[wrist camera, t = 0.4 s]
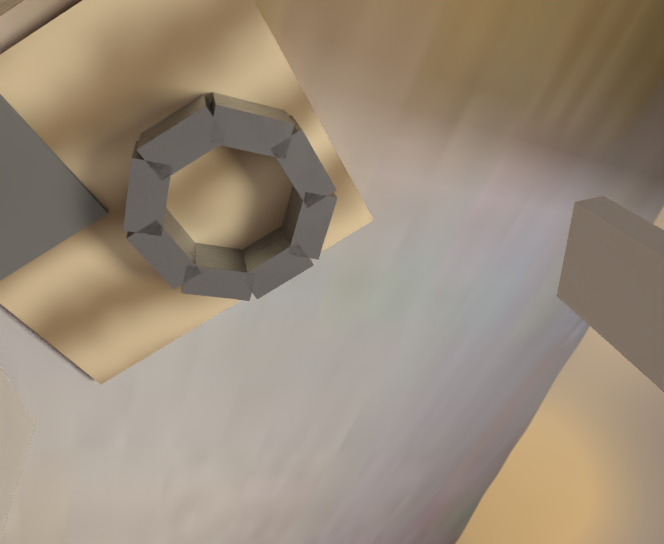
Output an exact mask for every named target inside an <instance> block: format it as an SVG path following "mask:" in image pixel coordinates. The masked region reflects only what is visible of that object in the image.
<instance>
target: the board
mask: <svg viewBox="0 0 664 544" xmlns="http://www.w3.org/2000/svg"><path fill="white" fill-rule="evenodd" d="M213 92H215V93H219V94H223V95H227V96H230V97H234V98H238V99H242V100H246V101H250V102H254V103H258V104H262V105H266V106H270V107H274V108H278V109H282V110H285V111H286V112H287V114H288V115H289V116H293V118H294V119H295V120H296V122H297V123H298V124H299V126H300V127H301V129H302V130H303V132H304V134H305V135H306V137H307V139H308V141H309V142H310V144H311V146H312V148H313V149H314V151H315V153H316V155H317V156H318V158H319V160H320V162H321V163H322V165H323V167H324V169H325V170H326V172H327V174H328V175H329V177H330V179H331V181H332V182H333V184H334V186H335V188H336V189H337V190H336V191H335V192H334V193H335V195H336V196H337V198H338V199H337V202H336V205H335V208H334V211H333V214H332V218H331V221H330V224H329V227H328V230H327V234H326V237H325V240H324V243H323V246H322V250H321V251H323V250H325V249H326V248H328V247H329V246H331V245H333V244H334V243H336V242H338V241H339V240H341V239H343V238H344V237H346V236H348V235H349V234H351V233H353V232H354V231H356V230H358V229H359V228H361V227H363V226H364V225H366V224H368V223H369V222H371V221H373V218H372V216H371V215H370V213H369V211H368V209H367V207H366V205H365V204H364V202H363V200H362V198H361V196H360V194H359V193H358V191H357V189H356V187H355V185H354V183H353V182H352V180H351V178H350V176H349V174H348V172H347V171H346V169H345V167H344V165H343V163H342V161H341V160H340V158H339V156H338V154H337V152H336V150H335V149H334V147H333V145H332V143H331V141H330V139H329V138H328V136H327V134H326V132H325V130H324V128H323V126H322V125H321V123H320V121H319V119H318V117H317V115H316V114H315V112H314V110H313V108H312V106H311V104H310V103H309V101H308V99H307V97H306V95H305V93H304V92H303V90H302V88H301V86H300V84H299V82H298V81H297V79H296V77H295V75H294V73H293V71H292V70H291V68H290V66H289V64H288V62H287V60H286V59H285V57H284V55H283V53H282V51H281V49H280V48H279V46H278V44H277V42H276V40H275V38H274V37H273V35H272V33H271V31H270V29H269V27H268V26H267V24H266V22H265V20H264V18H263V16H262V15H261V13H260V11H259V9H258V7H257V5H256V4H255V2H254V0H82V1H81V2H79V3H78V4H76V5H75V6H73V7H72V8H70V9H69V10H67V11H65V12H64V13H62V14H61V15H59V16H58V17H56V18H55V19H53V20H52V21H50V22H49V23H47V24H46V25H44V26H43V27H41V28H40V29H38V30H37V31H35V32H34V33H32V34H31V35H29V36H28V37H26V38H25V39H23V40H22V41H20V42H19V43H17V44H16V45H14V46H13V47H11V48H9V49H8V50H6V51H5V52H3V53H2V54H0V94H1V95H2V96H3V97H4V98H5V99H6V101H7V102H8V103H9V104H10V105H11V106H12V107H13V108H14V109H15V110H16V111H17V112H18V114H19V115H20V116H21V117H22V118H23V119H24V120H25V121H26V122H27V123H28V124H29V125H30V127H31V128H32V129H33V130H34V131H35V132H36V133H37V134H38V135H39V136H40V137H41V138H42V140H43V141H44V142H45V143H46V144H47V145H48V146H49V147H50V148H51V149H52V150H53V152H54V153H55V154H56V155H57V156H58V157H59V158H60V159H61V160H62V161H63V162H64V163H65V165H66V166H67V167H68V168H69V169H70V170H71V171H72V172H73V173H74V174H75V175H76V176H77V178H78V179H79V180H80V181H81V182H82V183H83V184H84V185H85V186H86V187H87V188H88V189H89V191H90V192H91V193H92V194H93V195H94V196H95V197H96V198H97V199H98V200H99V201H100V202H101V204H102V205H103V206H104V207H105V208H106V209H107V210H108V214H106V215H104V216H103V217H101V218H100V219H98V220H96V221H95V222H93V223H92V224H90V225H88V226H87V227H85V228H84V229H82V230H80V231H79V232H77V233H76V234H74V235H73V236H71V237H69V238H68V239H66V240H65V241H63V242H61V243H60V244H58V245H57V246H55V247H53V248H52V249H50V250H49V251H47V252H45V253H44V254H42V255H41V256H39V257H37V258H36V259H34V260H33V261H31V262H29V263H28V264H26V265H25V266H23V267H22V268H20V269H18V270H17V271H15V272H14V273H12V274H10V275H9V276H7V277H6V278H4V279H2V280H1V281H0V304H1V305H3V306H4V307H5V308H6V309H7V310H9V311H10V312H11V313H12V314H14V315H15V316H16V317H17V318H19V319H20V320H21V321H22V322H24V323H25V324H26V325H27V326H29V327H30V328H31V329H32V330H34V331H35V332H36V333H37V334H39V335H40V336H41V337H42V338H44V339H45V340H46V341H47V342H49V343H50V344H51V345H52V346H54V347H55V348H56V349H57V350H59V351H60V352H61V353H62V354H64V355H65V356H66V357H67V358H69V359H70V360H71V361H72V362H74V363H75V364H76V365H77V366H78V367H80V368H81V369H82V370H83V371H85V372H86V373H87V374H88V375H90V376H91V377H92V378H93V379H95V380H96V381H97V382H98V383H100V384H102V383H104V382H106V381H107V380H109V379H111V378H112V377H114V376H116V375H117V374H119V373H121V372H122V371H124V370H126V369H127V368H129V367H131V366H132V365H134V364H136V363H137V362H139V361H141V360H142V359H144V358H146V357H147V356H149V355H150V354H152V353H154V352H155V351H157V350H159V349H160V348H162V347H164V346H165V345H167V344H169V343H170V342H172V341H174V340H175V339H177V338H179V337H180V336H182V335H184V334H185V333H187V332H189V331H190V330H192V329H194V328H195V327H197V326H199V325H200V324H202V323H204V322H205V321H207V320H209V319H210V318H212V317H213V316H215V315H217V314H218V313H220V312H222V311H223V310H225V309H227V308H228V307H230V306H232V305H233V304H235V303H237V302H238V301H240V300H237V299H228V298H219V297H210V296H201V295H192V294H183V293H181V286H179V287H177V288H176V289H174V290H173V288H172V287H171V286H170V285H169V284H168V283H167V282H166V281H165V280H164V279H163V278H162V277H161V276H160V275H159V273H158V272H157V271H156V270H155V269H154V268H153V267H152V266H151V265H150V264H149V263H148V262H147V261H146V260H145V258H144V257H143V256H142V255H141V254H140V253H139V252H138V251H137V250H136V249H135V248H134V247H133V246H132V245H131V243H130V242H129V241H128V240H127V239H126V236H127V232H128V231H123V228H124V219H125V210H126V201H127V193H128V184H129V175H130V166H131V158H132V154H133V151H134V147H135V143H136V141H139V139H140V135H141V133H142V132H144V131H145V130H147V129H149V128H150V127H152V126H153V125H155V124H157V123H158V122H160V121H161V120H163V119H164V118H166V117H168V116H169V115H171V114H172V113H174V112H175V111H177V110H179V109H180V108H182V107H183V106H185V105H186V104H188V103H190V102H191V101H193V100H194V99H196V98H197V97H199V96H201V95H202V94H204V95H205V96H206V98H207V99H208V101H209V102H210V104H211V100H212V94H213ZM292 186H293V184H292V182H291V181H290V179H289V177H288V176H287V174H286V173H285V171H284V170H283V168H282V166H281V165H280V163H279V162H278V160H277V158H276V157H272V156H267V155H263V154H258V153H254V152H249V151H244V150H240V149H235V148H230V147H226V146H221V145H219V146H217V147H216V148H214V149H212V150H211V151H209V152H208V153H206V154H204V155H203V156H201V157H200V158H198V159H196V160H195V161H193V162H192V163H190V164H189V165H187V166H185V167H184V168H182V169H181V170H179V171H177V172H176V173H174V174H173V175H171V177H170V183H169V190H168V197H167V203H166V208H167V209H168V210H169V212H170V213H171V214H172V215H173V216H174V218H175V219H176V220H177V221H178V222H179V224H180V225H181V226H182V227H183V228H184V230H185V231H186V232H187V233H188V234H189V236H190V237H191V238H192V239H193V240H194V242H195V243H201V244H208V245H215V246H222V247H229V248H236V249H242V250H243V249H244V248H246V247H248V246H249V245H251V244H253V243H254V242H256V241H257V240H259V239H261V238H262V237H264V236H266V235H267V234H269V233H271V232H272V231H274V230H275V229H277V228H279V227H280V226H282V224H283V220H284V216H285V213H286V209H287V205H288V201H289V198H290V194H291V190H292ZM251 294H252V293H251Z"/></svg>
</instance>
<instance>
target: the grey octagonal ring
mask: <svg viewBox="0 0 664 544" xmlns="http://www.w3.org/2000/svg"><path fill="white" fill-rule="evenodd" d="M219 145H221V146H226V147H230V148H235V149H240V150H244V151H249V152H254V153H258V154H263V155H267V156H272V157H276V158H277V160H278V162H279V163H280V165H281V166H282V168H283V170H284V171H285V173H286V174H287V176H288V177H289V179H290V181H291V182H292V184H293V186H292V190H291V194H290V198H289V201H288V205H287V209H286V213H285V216H284V220H283V224H282V226H280V227H279V228H277V229H275V230H274V231H272V232H271V233H269V234H267V235H266V236H264V237H262V238H261V239H259V240H257V241H256V242H254V243H253V244H251V245H249V246H248V247H246V248H244V249H243V250H242V249H236V248H229V247H222V246H215V245H208V244H201V243H195V242H194V240H193V239H192V238H191V237H190V236H189V234H188V233H187V232H186V231H185V230H184V228H183V227H182V226H181V225H180V224H179V222H178V221H177V220H176V219H175V218H174V216H173V215H172V214H171V213H170V212H169V210H168V209H167V208H166V203H167V197H168V190H169V183H170V177H171V175H173V174H174V173H176V172H177V171H179V170H181V169H182V168H184V167H185V166H187V165H189V164H190V163H192V162H193V161H195V160H196V159H198V158H200V157H201V156H203V155H204V154H206V153H208V152H209V151H211V150H212V149H214V148H216V147H217V146H219ZM336 190H337V189H336V188H335V186H334V184H333V182H332V181H331V179H330V177H329V175H328V174H327V172H326V170H325V169H324V167H323V165H322V163H321V162H320V160H319V158H318V156H317V155H316V153H315V151H314V149H313V148H312V146H311V144H310V142H309V141H308V139H307V137H306V135H305V134H304V132H303V130H302V129H301V127H300V126H299V124H298V123H297V122H296V120H295V119H294V118H293V116H289V115H288V114H287V112H286V111H285V110H282V109H278V108H274V107H270V106H266V105H262V104H258V103H254V102H250V101H246V100H242V99H238V98H234V97H230V96H227V95H223V94H219V93H215V92H213V94H212V100H211V104H210V102H209V101H208V99H207V98H206V96H205V95H204V94H202V95H201V96H199V97H197V98H196V99H194V100H193V101H191V102H190V103H188V104H186V105H185V106H183V107H182V108H180V109H179V110H177V111H175V112H174V113H172V114H171V115H169V116H168V117H166V118H164V119H163V120H161V121H160V122H158V123H157V124H155V125H153V126H152V127H150V128H149V129H147V130H145V131H144V132H142V133H141V135H140V139H139V141H136V143H135V147H134V151H133V154H132V158H131V166H130V175H129V184H128V193H127V201H126V210H125V219H124V228H123V231H128V232H127V236H126V239H127V240H128V241H129V242H130V243H131V245H132V246H133V247H134V248H135V249H136V250H137V251H138V252H139V253H140V254H141V255H142V256H143V257H144V258H145V260H146V261H147V262H148V263H149V264H150V265H151V266H152V267H153V268H154V269H155V270H156V271H157V272H158V273H159V275H160V276H161V277H162V278H163V279H164V280H165V281H166V282H167V283H168V284H169V285H170V286H171V287H172V288H173V290H174V289H176V288H177V287H179V286H181V293H183V294H192V295H201V296H210V297H219V298H228V299H237V300H246V301H250V297H251V293H253V294H254V296H255V297H256V298H257V299H258V298H260V297H262V296H263V295H265V294H267V293H268V292H270V291H272V290H273V289H275V288H277V287H278V286H280V285H282V284H283V283H285V282H287V281H288V280H290V279H292V278H293V277H295V276H297V275H298V274H300V273H302V272H303V271H305V270H307V269H308V268H310V267H312V266H313V263H312V260H311V258H313V259H319V256H320V253H321V250H322V246H323V243H324V240H325V237H326V234H327V230H328V227H329V224H330V221H331V218H332V214H333V211H334V208H335V205H336V202H337V199H338V198H337V196H336V195H335V193H334V192H335V191H336Z"/></svg>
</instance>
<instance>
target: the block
mask: <svg viewBox="0 0 664 544" xmlns="http://www.w3.org/2000/svg"><path fill="white" fill-rule="evenodd" d="M22 1H23V0H0V16H1V15H2V14H4V13H5V12H7V11H8V10H10V9H11V8H13V7H14V6H16V5H17V4H19V3H20V2H22Z"/></svg>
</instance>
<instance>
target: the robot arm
mask: <svg viewBox="0 0 664 544" xmlns="http://www.w3.org/2000/svg"><path fill="white" fill-rule="evenodd" d="M557 297H558V298H560V299H561V300H562V301H563V302H564V303H565V304H566V305H567V306H569V307H570V308H571V309H572V310H573V311H574V312H575V313H576V314H577V315H579V316H580V317H581V318H582V319H583V320H584V321H585V322H586V323H587V324H589V325H590V326H591V327H592V328H593V329H594V330H595V331H597V332H598V333H599V334H600V335H601V336H602V337H603V338H604V339H605V340H606V341H608V342H609V343H610V344H611V345H612V346H613V347H614V348H615V349H617V350H618V351H619V352H620V353H621V354H622V355H623V356H624V357H625V358H627V359H628V360H629V361H630V362H631V363H632V364H633V365H634V366H636V367H637V368H638V369H639V370H640V371H641V372H642V373H643V374H644V375H645V376H647V377H648V378H649V379H650V380H651V381H652V382H653V383H654V384H656V385H657V386H658V387H659V388H660V389H661V390H662V391H663V392H664V230H662V229H661V228H659V227H657V226H655V225H654V224H652V223H650V222H648V221H646V220H645V219H643V218H641V217H639V216H638V215H636V214H634V213H632V212H630V211H629V210H627V209H625V208H623V207H622V206H620V205H618V204H616V203H614V202H613V201H611V200H609V199H607V198H606V197H604V196H602V197H597V198H592V199H587V200H583V201H578V202H575V204H574V209H573V214H572V219H571V225H570V230H569V235H568V240H567V246H566V251H565V256H564V261H563V266H562V272H561V277H560V282H559V287H558V293H557ZM35 425H36V423H35V422H34V420H33V418H32V417H31V415H30V414H29V412H28V410H27V409H26V407H25V406H24V404H23V402H22V401H21V399H20V397H19V396H18V394H17V393H16V391H15V389H14V388H13V386H12V385H11V383H10V381H9V380H8V378H7V377H6V375H5V373H4V372H3V370H2V369H1V367H0V538H1V535H2V531H3V528H4V525H5V522H6V519H7V515H8V512H9V509H10V506H11V502H12V499H13V496H14V493H15V489H16V486H17V483H18V480H19V476H20V473H21V470H22V467H23V463H24V460H25V457H26V454H27V451H28V447H29V444H30V441H31V438H32V434H33V431H34V428H35Z"/></svg>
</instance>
